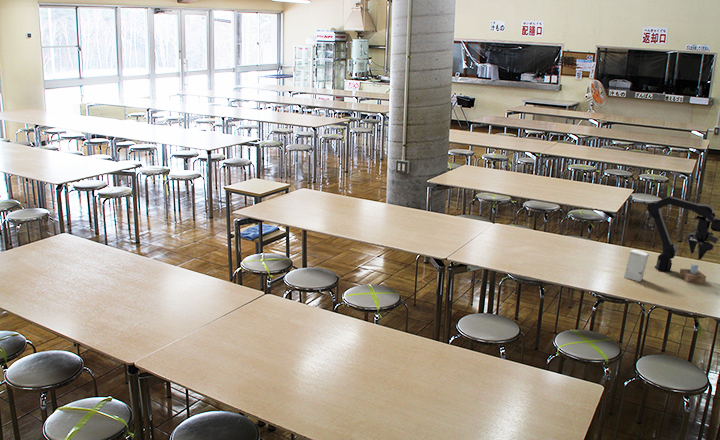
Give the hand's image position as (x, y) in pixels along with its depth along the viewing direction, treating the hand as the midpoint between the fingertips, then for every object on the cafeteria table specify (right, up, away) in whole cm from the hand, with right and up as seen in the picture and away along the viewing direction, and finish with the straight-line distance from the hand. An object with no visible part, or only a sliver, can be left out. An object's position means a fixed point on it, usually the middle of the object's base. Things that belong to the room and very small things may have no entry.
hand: (695, 256), depth 313 cm
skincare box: (-34, -12, -3) cm, 36 cm away
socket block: (-2, -12, 0) cm, 13 cm away
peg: (-2, -12, 0) cm, 13 cm away
